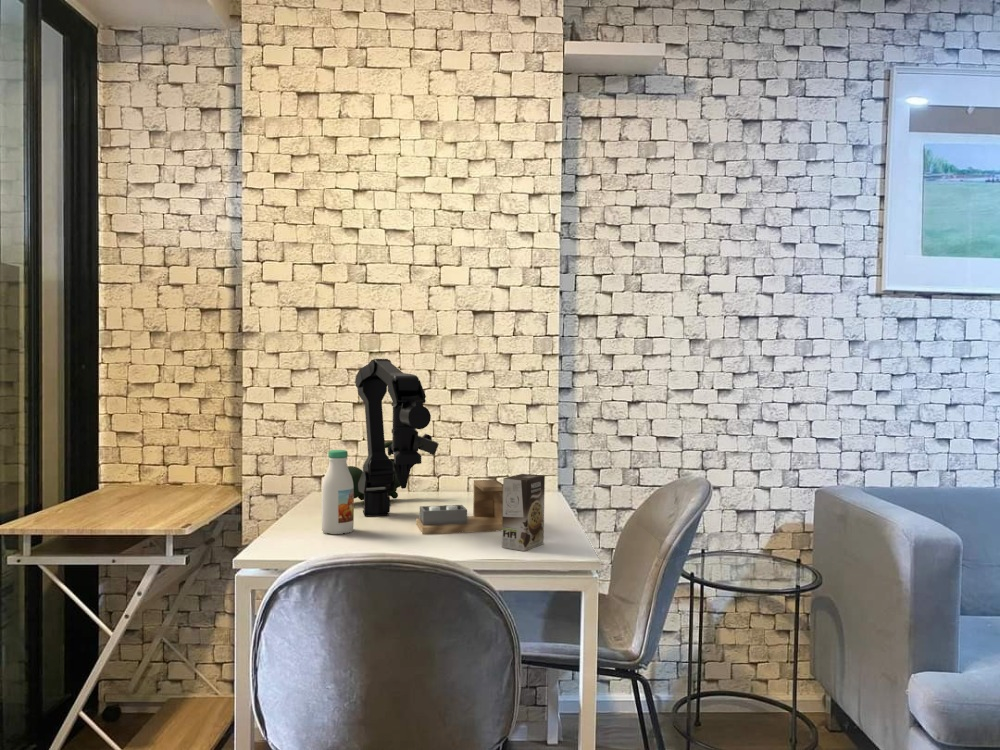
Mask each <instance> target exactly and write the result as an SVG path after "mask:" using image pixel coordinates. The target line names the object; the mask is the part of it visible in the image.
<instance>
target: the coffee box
mask: <svg viewBox="0 0 1000 750" xmlns="http://www.w3.org/2000/svg"><path fill="white" fill-rule="evenodd" d="M502 479H503V483H502V484H503V524H502V532H501V534H502V535H501V536H502V537H501V547H502V548H504V549H509V550H510V549H511V550H515V551H521V552H527V551H529V550H530V549H534V548H536V546H537V547H539V546H542V545H544V544H545V494H546V493H545V490H546V488H545V486H546V485H545V484H546V483H545V482H546V480H545V479H546V475H542V474H532V473H529V474H528V473H520V474H516V475H515V474H514V475H512V476H507V477H506V476H505V477H503V478H502Z"/></svg>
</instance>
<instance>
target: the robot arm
mask: <svg viewBox="0 0 1000 750" xmlns="http://www.w3.org/2000/svg"><path fill="white" fill-rule="evenodd" d="M354 380H355V387H356V388H357V394H358V396H359V398H360V399H361V400H362V402H363V403H364V412H365V414H364V415H365V425H366V426H365V427H366V428H365V429H366V442H367V443H366V444H367V457H366V459H365V461H364V463H363V464H362V471H363V472H362V474H361V477H360V480H359V482H358V490H359V492H361V493H363V494H364V500H363V510H362V513H363V516H364V517H376V516H377V517H379V516H381V517H382V516H383V517H384V516H386V517H387V516H390V512H391V496H390V497H389V496H388V492H390V491H391V492H393V489H394V484H395V477H396V475H397V478H398V481H399V483H400V487H401V489H407V486H408V482H409V477H410V473H411V469H412V467H414V466H415V465H421V464H422V455H421V454H420V453H419V450H420V451H422V452H426V453H428V454H429V455H431V456H435V455H436V452H437V450H438V447H439V445H440V444H439V443H438V441H435V440H433V439H432V435H430V434H427V433H424V434H423V435H422V436H421V435H419V431H417V430H423V429H425V428H426V427H428V426H429V424H430V422H431V419H432V418H431V417H432V416H431V413H430V410H429V409H428V407H426V406H425V405H424V404H426V402H427V400H426V398H427V395H426V393H425V391H424V388H423V385H422V382H421V380H420V379H419V377H418V376H417V374H416V375H415V374H412V373H406V372H402V370H401V369H399V368H398V367H397V366H395V365H394V364H393V363H392V361H391V360H390V359H388V358H373V359H371V360H370V362H369V363H368V364H365V365H364V366H363V367H361V368H360V369H359V370H358V372H357V374H356V376H355V379H354ZM387 392H388V394H389V396H390V398H391V401H392V402H391V405H390V406H391V407H392V428H391V434H392V441H391V442H392V444H391V445H390V446H389V447H388V448H387V454H386V448H385V443H386V441H385V426H384V416H383V415H384V414H383V413H384V412H383V400H384V398H385V396H386V394H387ZM392 455H393V458H390V457H391V456H392ZM388 456H390V457H388ZM393 467H394V470H395V472H394V470H393ZM395 473H396V475H395ZM366 487H367V488H366Z"/></svg>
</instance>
